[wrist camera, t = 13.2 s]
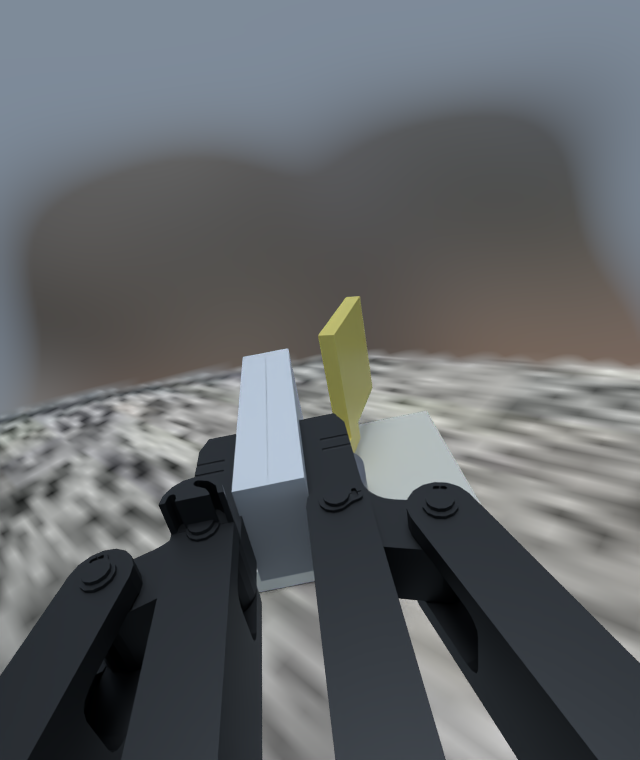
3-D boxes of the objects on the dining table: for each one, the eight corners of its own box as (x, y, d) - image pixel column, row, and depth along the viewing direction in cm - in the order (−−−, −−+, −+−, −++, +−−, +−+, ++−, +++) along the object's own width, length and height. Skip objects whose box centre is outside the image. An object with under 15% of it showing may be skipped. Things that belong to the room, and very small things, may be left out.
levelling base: (237, 596, 32) (217, 545, 30) (246, 464, 46) (233, 421, 43) (492, 545, 32) (492, 490, 30) (427, 428, 46) (424, 383, 43)
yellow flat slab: (361, 528, 33) (334, 379, 27) (295, 521, 35) (257, 380, 29) (395, 414, 45) (381, 294, 39) (345, 413, 46) (325, 298, 41)
